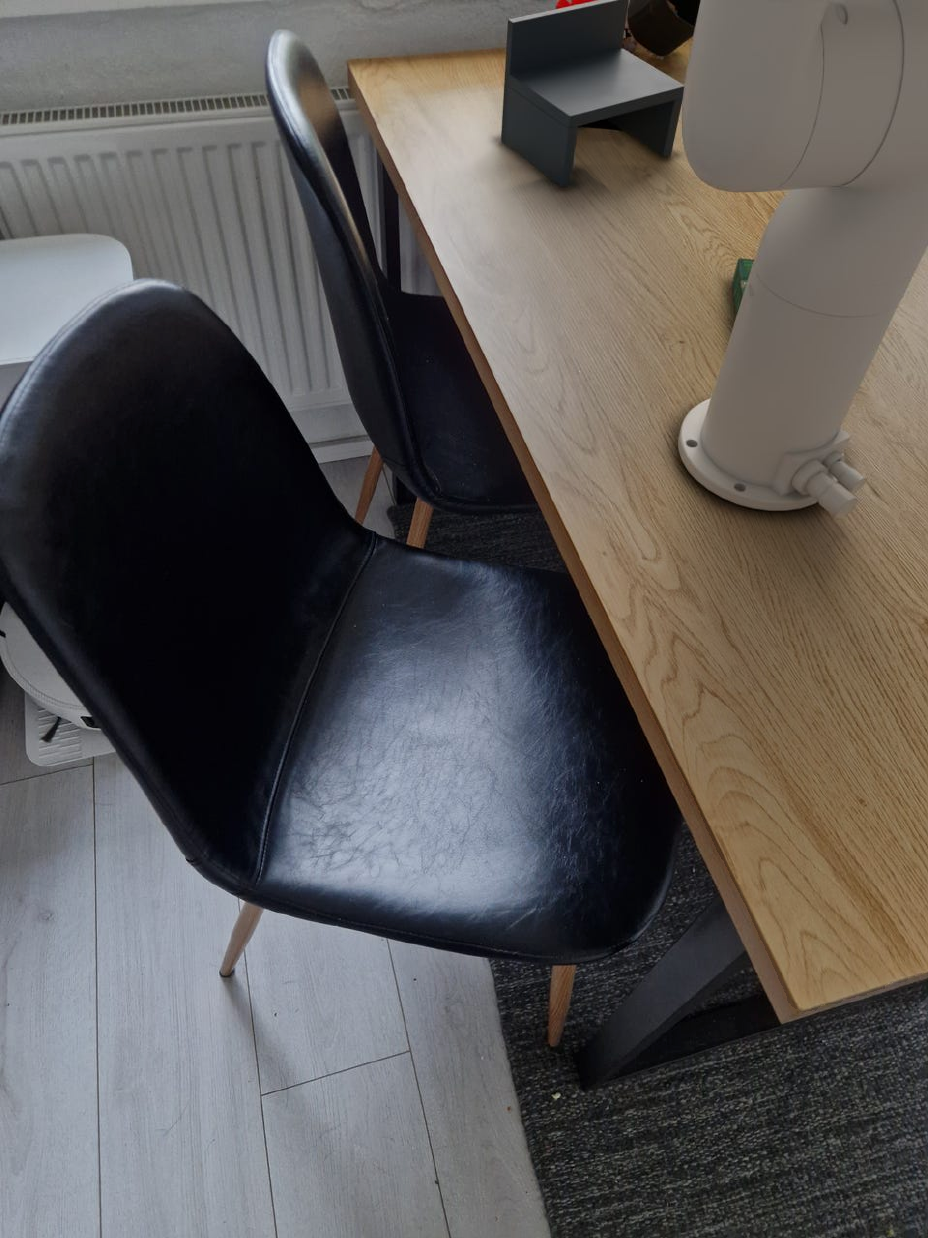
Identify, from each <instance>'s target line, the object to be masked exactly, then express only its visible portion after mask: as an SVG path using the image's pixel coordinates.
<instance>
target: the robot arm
mask: <svg viewBox="0 0 928 1238" xmlns="http://www.w3.org/2000/svg"><path fill="white" fill-rule="evenodd" d="M684 78H685V80H684V84H683V85H684V92H683V101H682V106H681V136H682V144H683V149H684V153H685V156H686V159H687V162H688V164H689V166H690V168H691V170H692V172H693V173H694V174H695V176H696V177H697V178H698V179H699V180H700V181H701V182H703V183H704V184H705V185H707V186H709V187H711V188H713V189H716V190H719V191H722V192H728V193H764V192H765V193H766V192H777V191H786V193H785V194H784V195H783V197H782V198H781V200H780V202H778V204H777V206H776V208H775V209H774V211H773V213H772V214H771V217H770V218H769V221H768V222H767V224H766V227H765V228H764V231H763V233H762V236H761V239H760V242H759V244H758V248H757V251H756V254H755V256H754V258H753V259H754V262H753V265H752V269H751V272H750V275H749V278H748V281H747V285H746V288H745V291H744V294H743V297H742V301H741V304H740V307H739V310H738V313H737V317H736V316H735V320H734V323H733V326H732V330H731V332H730V336H729V339H728V342H727V345H726V349H725V352H724V355H723V358H722V360H721V361H722V362H721V365H720V368H719V371H718V374H717V378H716V381H715V384H714V387H713V390H712V394H711V396H710V397H709V398H707V399H705V400H703V401H701V402H699V403H698V404H697V405H695V406H694V407H692V408H691V410H689V411H688V413H687V414H686V416H685V417H684V419H683V421H682V423H681V426H680V430H679V434H678V437H677V447H678V449H677V450H678V452H679V456H680V459H681V461H682V463H683V465H684V467H685V468H686V470H687V472H688V473H689V474H690V475H691V476H692V477H693V478H694V479H695V480H696V481H697V482H698V483H699V484H700V485H702V486H703V487H704V488H706V489H707V490H708V491H710V492H711V493H713V494H715V496H716V495H717V496H718V497H720V498H722V499H724V500H726V501H729V502H730V503H732V504H733V503H734V504H736V505H739V506H743V507H747V508H751V509H755V510H762V511H770V512H771V511H772V512H773V511H775V512H777V511H779V512H780V511H792V510H800V509H803V508H806V507H809V506H812V505H815V504H817V503H818V505H819V506H820V507H822V508H823V509H824V510H825V511H826V512H827V513H829V514H830V515H831V516H832V517H833V518H834V519H836V520H842V519H843V518H844V517H846V516H848V515H849V514H850V512H852V511H853V510H854V508H855V507H856V506H857V504H858V501H859V500H858V497H856V496H855V495H854V494H857V492H859V491H860V490H862V489H863V487H865V484H866V483H867V481H868V479H867V477H865V476H864V475H863V474H861V473H860V472H859V471H858V470H857V469H855V468H854V467H851V466H850V465H849V464H848V463H846V462H845V461H846V457H845V453H844V452H845V450H846V448H847V446H848V445H849V442H850V440H851V438H852V436H851V434H850V433H848V431H846V430H845V429H844V428H842V425H843V423H844V421H845V419H846V416H847V414H848V412H849V410H850V408H851V406H852V404H853V401H854V400H855V398H856V395H857V394H858V391H859V389H860V387H861V385H862V383H863V381H864V379H865V377H866V375H867V373H868V370H869V368H870V366H871V364H872V362H873V360H874V357H875V355H876V353H877V351H878V349H879V347H880V345H881V343H882V341H883V339H884V337H885V335H886V333H887V331H888V328H889V326H890V325H891V322H892V320H893V318H894V316H895V313H896V311H897V309H898V307H899V305H900V304H901V301H902V299H903V298H904V295H905V294H906V291H907V290H908V287H909V285H910V283H911V281H912V279H913V277H914V275H915V273H916V270H917V269H918V267H919V264H920V262H921V261H922V259H923V258H924V257H923V256H924V255H925V252H926V250H927V249H928V0H701V2H700V6H699V11H698V16H697V21H696V25H695V30H694V35H693V36H692V40H691V46H690V50H689V56H688V61H687V67H686V73H685V77H684Z"/></svg>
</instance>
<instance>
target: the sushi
mask: <svg viewBox="0 0 928 1238" xmlns="http://www.w3.org/2000/svg"><path fill="white" fill-rule="evenodd" d="M700 2H701V0H630V1H629V3H628V5H629V6H628V11H627V16H626V23H625V28H626V29H629V30H628V33H630V32H631V33H630V34H631V36H632V37H631V42H632V41H634V42H636V43H637V46H636V47H637V49H640V48H641V47H642V48H643V49H646V52H647V56H648V57H653V56H655V59H656V60H658V59H660V61H662V60H664V59H665V57H668V56H670V55H671V54H672V53H673V52H675V51H676V50H677V49H678V48H680V47H681V46H682V45H683V44H685V43H686V42H688V41H689V40H690V39H691V38H693V35H694V30H695V25H696V21H697V16H698V11H699V6H700Z"/></svg>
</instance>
